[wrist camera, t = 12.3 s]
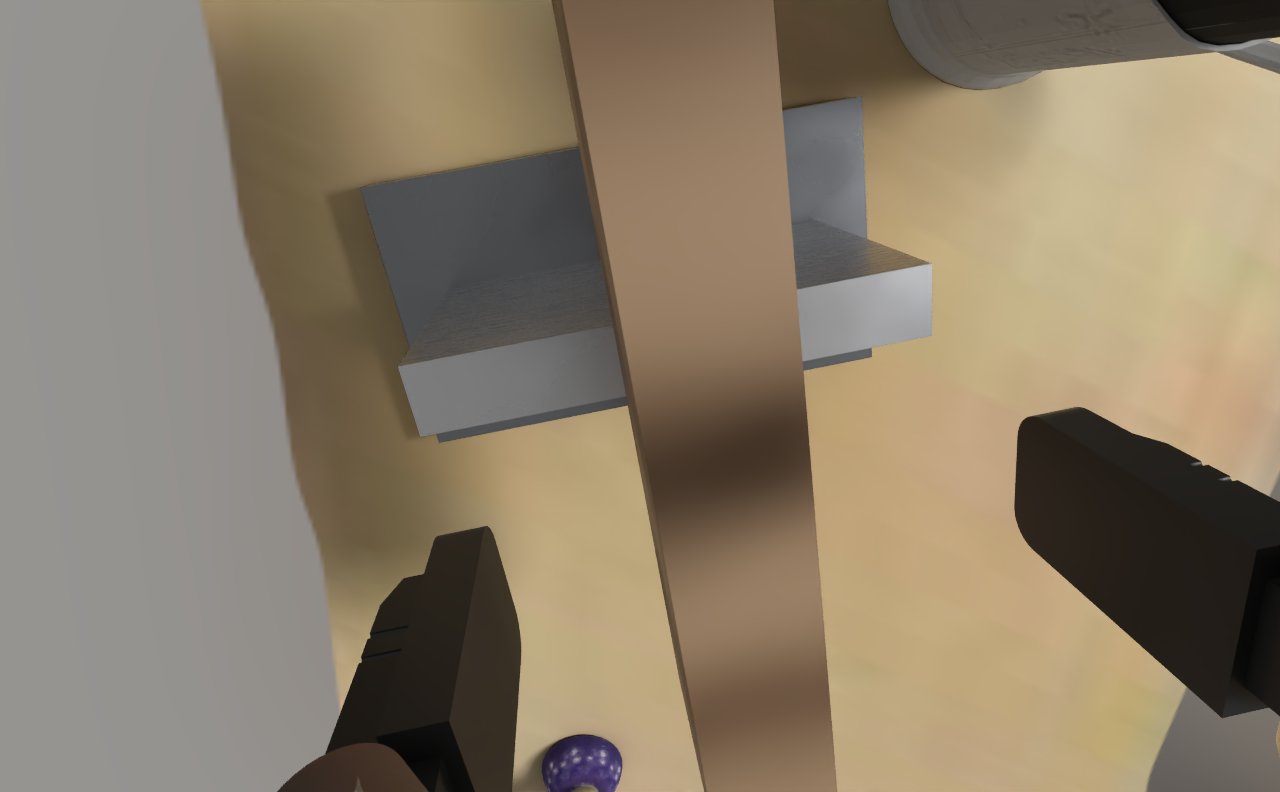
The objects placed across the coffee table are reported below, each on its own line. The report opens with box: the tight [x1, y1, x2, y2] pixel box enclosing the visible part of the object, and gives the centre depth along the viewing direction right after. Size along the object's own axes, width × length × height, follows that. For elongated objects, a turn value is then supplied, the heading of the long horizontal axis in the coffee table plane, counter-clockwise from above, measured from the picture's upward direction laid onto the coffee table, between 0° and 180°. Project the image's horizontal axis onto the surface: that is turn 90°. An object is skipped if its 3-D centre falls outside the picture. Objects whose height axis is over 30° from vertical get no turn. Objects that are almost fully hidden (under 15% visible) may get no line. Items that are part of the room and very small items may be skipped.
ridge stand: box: [360, 97, 932, 443], centre depth 23 cm, size 10×18×10 cm, turn 99°
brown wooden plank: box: [552, 0, 837, 792], centre depth 15 cm, size 22×3×6 cm, turn 9°
